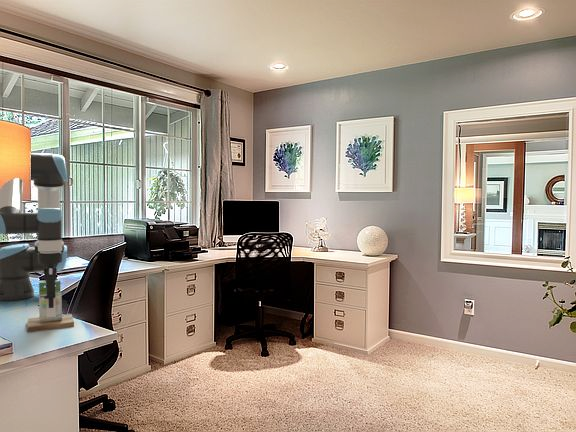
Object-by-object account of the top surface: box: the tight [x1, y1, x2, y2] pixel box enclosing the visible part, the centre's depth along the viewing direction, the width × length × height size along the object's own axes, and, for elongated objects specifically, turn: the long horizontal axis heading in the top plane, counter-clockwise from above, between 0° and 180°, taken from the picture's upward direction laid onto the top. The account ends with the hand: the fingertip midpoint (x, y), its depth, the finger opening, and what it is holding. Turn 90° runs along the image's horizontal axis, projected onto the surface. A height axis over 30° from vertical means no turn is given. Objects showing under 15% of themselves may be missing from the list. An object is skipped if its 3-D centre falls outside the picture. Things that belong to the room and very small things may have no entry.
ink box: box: [38, 280, 63, 322], centre depth 153 cm, size 7×4×13 cm, turn 120°
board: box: [26, 313, 75, 333], centre depth 153 cm, size 12×14×2 cm
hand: (50, 312), depth 153 cm, fingers open, 12 cm apart
